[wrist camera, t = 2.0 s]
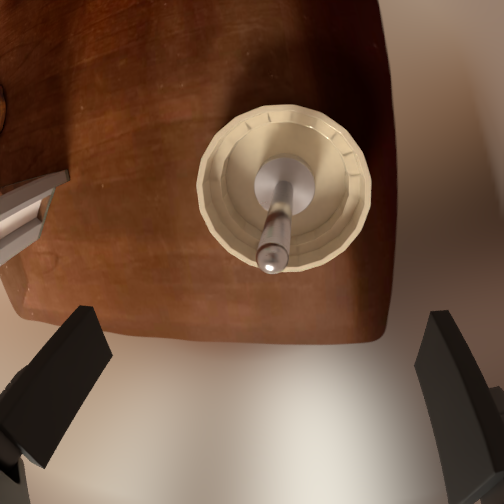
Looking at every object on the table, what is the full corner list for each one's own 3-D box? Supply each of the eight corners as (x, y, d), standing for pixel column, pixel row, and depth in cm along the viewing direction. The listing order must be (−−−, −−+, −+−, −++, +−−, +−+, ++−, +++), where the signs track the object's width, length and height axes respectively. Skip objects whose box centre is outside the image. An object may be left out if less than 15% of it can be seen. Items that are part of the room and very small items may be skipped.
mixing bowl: (358, 104, 29) (370, 104, 24) (356, 246, 36) (365, 271, 31) (205, 111, 32) (187, 113, 27) (221, 247, 39) (208, 271, 33)
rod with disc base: (312, 152, 32) (330, 208, 15) (314, 206, 34) (326, 312, 17) (255, 154, 33) (206, 211, 16) (259, 208, 35) (221, 311, 18)
